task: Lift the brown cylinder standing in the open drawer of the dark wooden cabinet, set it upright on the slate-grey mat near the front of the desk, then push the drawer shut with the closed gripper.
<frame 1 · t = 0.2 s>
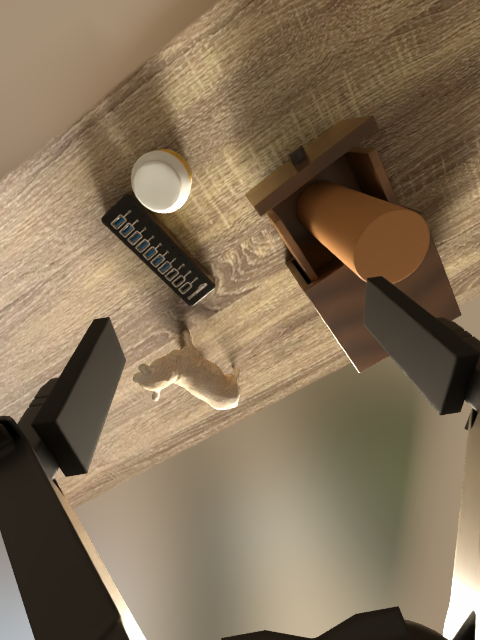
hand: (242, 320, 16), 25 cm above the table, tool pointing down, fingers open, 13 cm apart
supplement bottle: (168, 175, 35), on the table
cabinet: (353, 273, 43), on the table
drawer: (327, 211, 34), point 5 cm above the table, slide at 9.0 cm, touching brown cylinder
brown cylinder: (320, 207, 36), point 2 cm above the table, touching drawer
multiport hub: (164, 249, 39), on the table
figurine: (193, 349, 47), on the table
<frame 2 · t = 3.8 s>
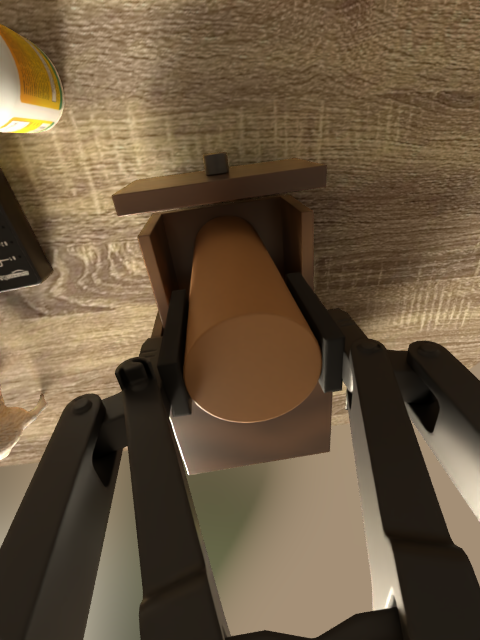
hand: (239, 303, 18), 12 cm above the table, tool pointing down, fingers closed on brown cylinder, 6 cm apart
supplement bottle: (26, 87, 21), on the table
cabinet: (240, 346, 34), on the table
drawer: (229, 260, 24), point 5 cm above the table, slide at 9.0 cm, touching brown cylinder
brown cylinder: (227, 249, 26), point 2 cm above the table, touching drawer, gripper
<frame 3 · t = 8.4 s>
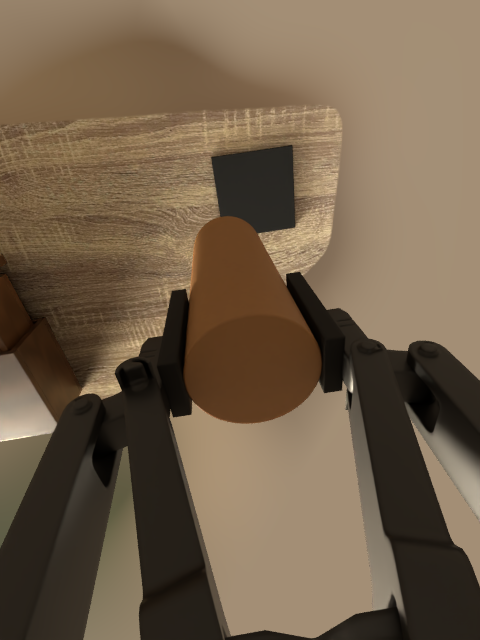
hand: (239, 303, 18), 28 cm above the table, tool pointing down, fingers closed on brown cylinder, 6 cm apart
mat: (255, 194, 41), on the table
cabinet: (23, 362, 51), on the table
brown cylinder: (227, 250, 26), point 18 cm above the table, touching gripper
when the fingers open (10 cm above the table, at t = 13.0 s): brown cylinder stays where it is, resting on mat.
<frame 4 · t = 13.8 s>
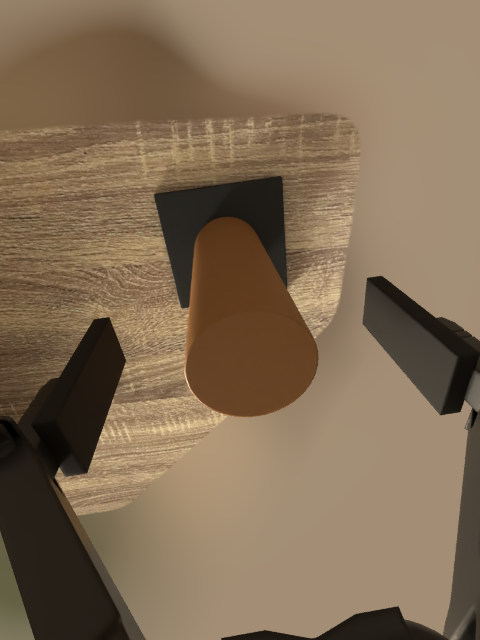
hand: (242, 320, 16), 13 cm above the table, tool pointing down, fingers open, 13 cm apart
mat: (226, 246, 27), on the table
brown cylinder: (227, 250, 27), point 1 cm above the table, touching mat
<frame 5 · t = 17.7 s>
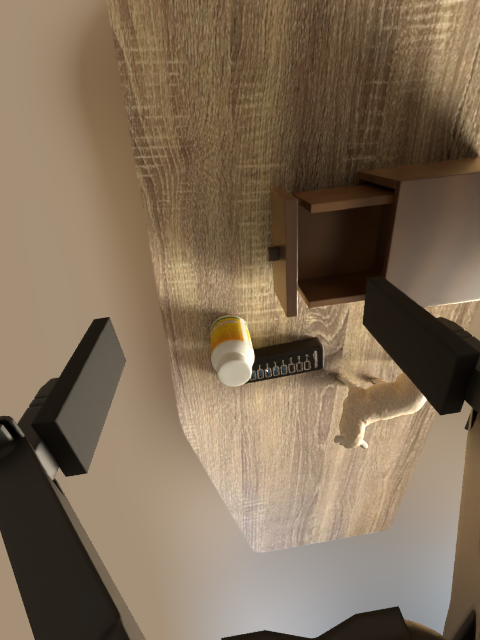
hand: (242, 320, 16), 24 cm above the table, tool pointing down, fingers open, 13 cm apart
supplement bottle: (228, 329, 45), on the table
cabinet: (408, 223, 39), on the table
drawer: (332, 246, 35), point 5 cm above the table, slide at 9.0 cm
multiport hub: (272, 356, 48), on the table
figurine: (356, 378, 52), on the table
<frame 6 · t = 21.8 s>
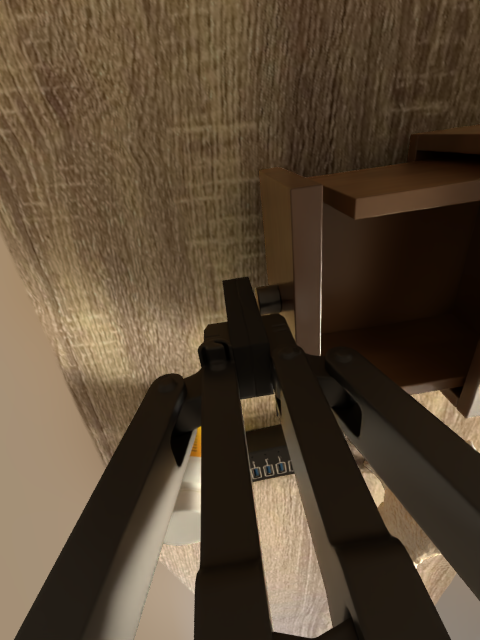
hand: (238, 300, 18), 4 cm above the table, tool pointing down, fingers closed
supplement bottle: (189, 409, 27), on the table
drawer: (386, 281, 18), point 5 cm above the table, slide at 7.8 cm, touching gripper
multiport hub: (262, 442, 31), on the table
figurine: (392, 462, 35), on the table
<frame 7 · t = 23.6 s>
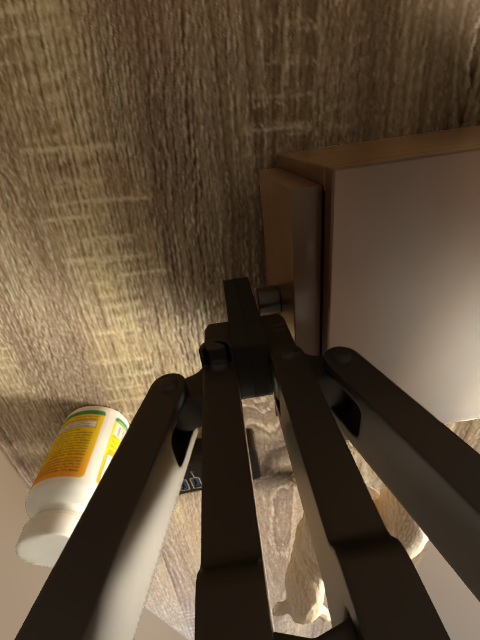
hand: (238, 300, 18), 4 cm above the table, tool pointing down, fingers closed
supplement bottle: (99, 423, 27), on the table
cabinet: (387, 250, 21), on the table
drawer: (387, 282, 18), point 5 cm above the table, slide at 0.0 cm, touching cabinet, gripper
multiport hub: (182, 455, 30), on the table
figurine: (322, 475, 34), on the table
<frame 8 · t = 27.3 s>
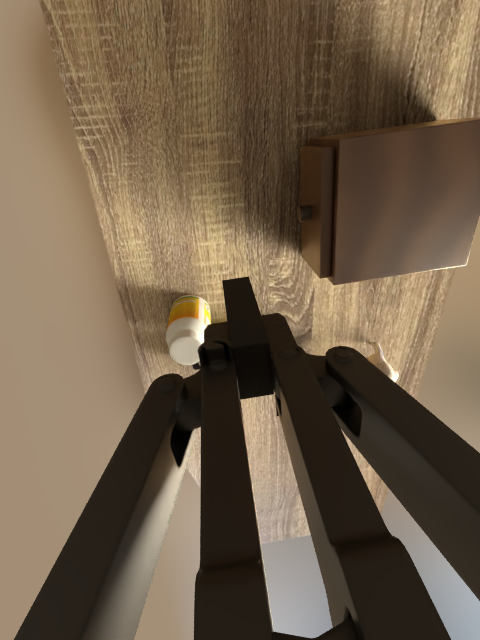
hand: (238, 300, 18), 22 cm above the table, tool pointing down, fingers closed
supplement bottle: (190, 310, 44), on the table
cabinet: (368, 194, 38), on the table
drawer: (365, 204, 34), point 5 cm above the table, slide at 0.0 cm
figurine: (329, 361, 51), on the table
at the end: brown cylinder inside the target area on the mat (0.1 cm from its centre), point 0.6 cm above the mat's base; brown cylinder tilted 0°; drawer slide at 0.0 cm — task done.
